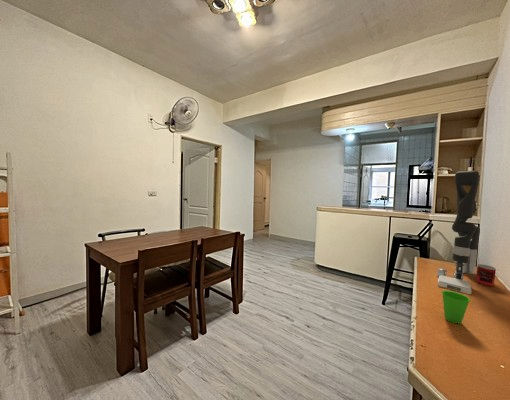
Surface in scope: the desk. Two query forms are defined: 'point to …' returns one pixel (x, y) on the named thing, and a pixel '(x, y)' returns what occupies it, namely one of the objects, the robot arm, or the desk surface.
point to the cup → (454, 306)
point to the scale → (454, 284)
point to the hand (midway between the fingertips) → (458, 280)
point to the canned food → (485, 275)
